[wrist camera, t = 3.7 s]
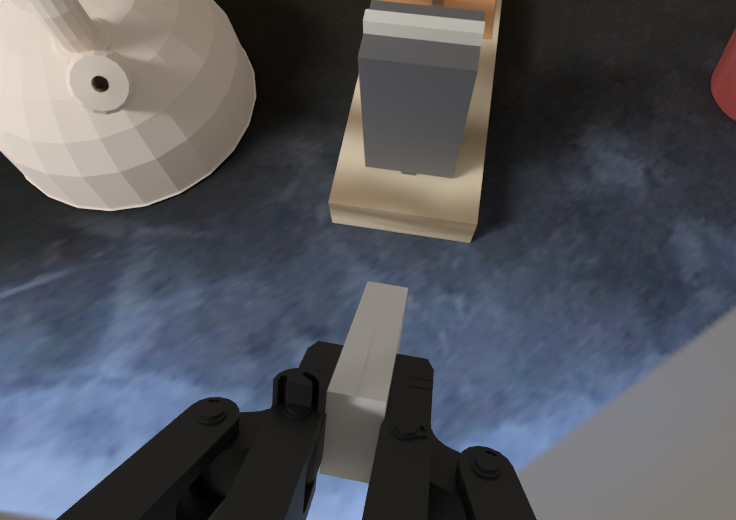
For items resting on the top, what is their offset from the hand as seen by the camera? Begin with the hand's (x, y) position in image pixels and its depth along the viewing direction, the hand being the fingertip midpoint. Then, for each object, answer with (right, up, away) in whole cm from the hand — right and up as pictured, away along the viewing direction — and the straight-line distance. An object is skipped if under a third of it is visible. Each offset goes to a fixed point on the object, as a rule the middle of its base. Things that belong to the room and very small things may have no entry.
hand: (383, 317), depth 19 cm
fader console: (+4, +16, +22) cm, 28 cm away
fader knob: (+3, +10, +16) cm, 19 cm away
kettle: (-20, +15, +23) cm, 34 cm away
